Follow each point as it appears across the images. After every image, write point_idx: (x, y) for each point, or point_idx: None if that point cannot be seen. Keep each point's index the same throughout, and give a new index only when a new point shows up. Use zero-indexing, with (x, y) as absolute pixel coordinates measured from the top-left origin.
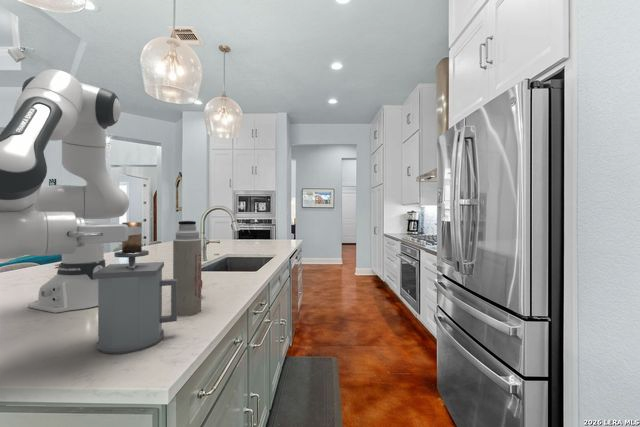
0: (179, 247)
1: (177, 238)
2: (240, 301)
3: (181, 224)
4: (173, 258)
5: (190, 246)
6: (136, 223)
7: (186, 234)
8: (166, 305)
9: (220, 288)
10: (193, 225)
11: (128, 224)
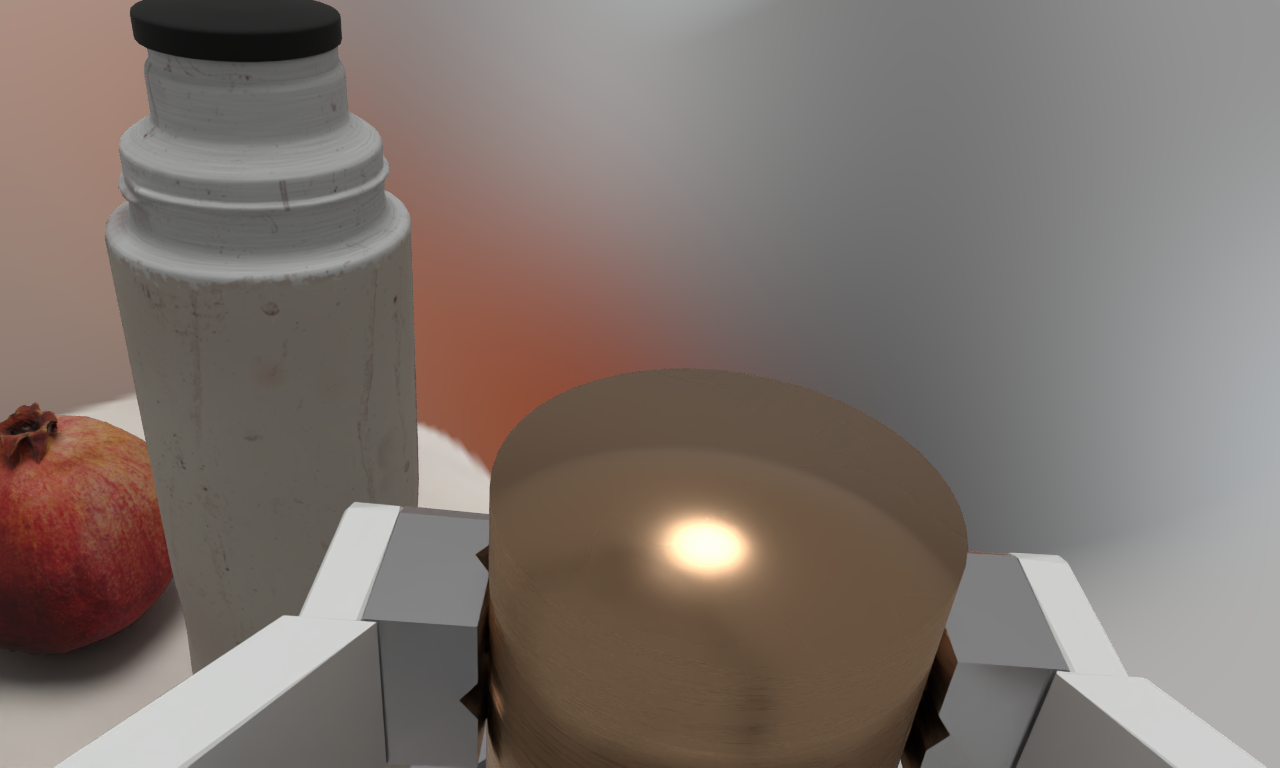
0: (304, 344)
1: (233, 246)
2: (470, 490)
3: (236, 64)
4: (203, 456)
5: (398, 301)
6: (947, 500)
7: (342, 184)
8: (12, 761)
9: (127, 408)
10: (337, 56)
11: (938, 641)
